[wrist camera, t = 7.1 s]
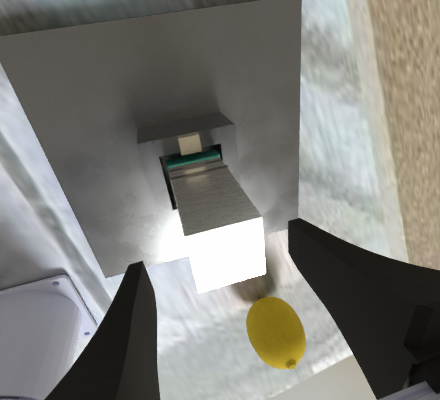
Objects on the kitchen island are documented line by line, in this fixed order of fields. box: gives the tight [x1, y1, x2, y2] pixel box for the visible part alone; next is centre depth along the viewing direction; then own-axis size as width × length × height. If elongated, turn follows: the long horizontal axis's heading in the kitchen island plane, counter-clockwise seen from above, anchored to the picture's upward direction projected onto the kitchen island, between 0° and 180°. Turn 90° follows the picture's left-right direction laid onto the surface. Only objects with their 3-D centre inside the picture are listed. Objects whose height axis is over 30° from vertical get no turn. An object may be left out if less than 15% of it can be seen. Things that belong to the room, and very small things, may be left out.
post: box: [166, 150, 266, 293], centre depth 14 cm, size 3×3×8 cm
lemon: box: [246, 297, 306, 369], centre depth 28 cm, size 6×6×8 cm
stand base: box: [0, 0, 302, 278], centre depth 19 cm, size 18×18×5 cm
